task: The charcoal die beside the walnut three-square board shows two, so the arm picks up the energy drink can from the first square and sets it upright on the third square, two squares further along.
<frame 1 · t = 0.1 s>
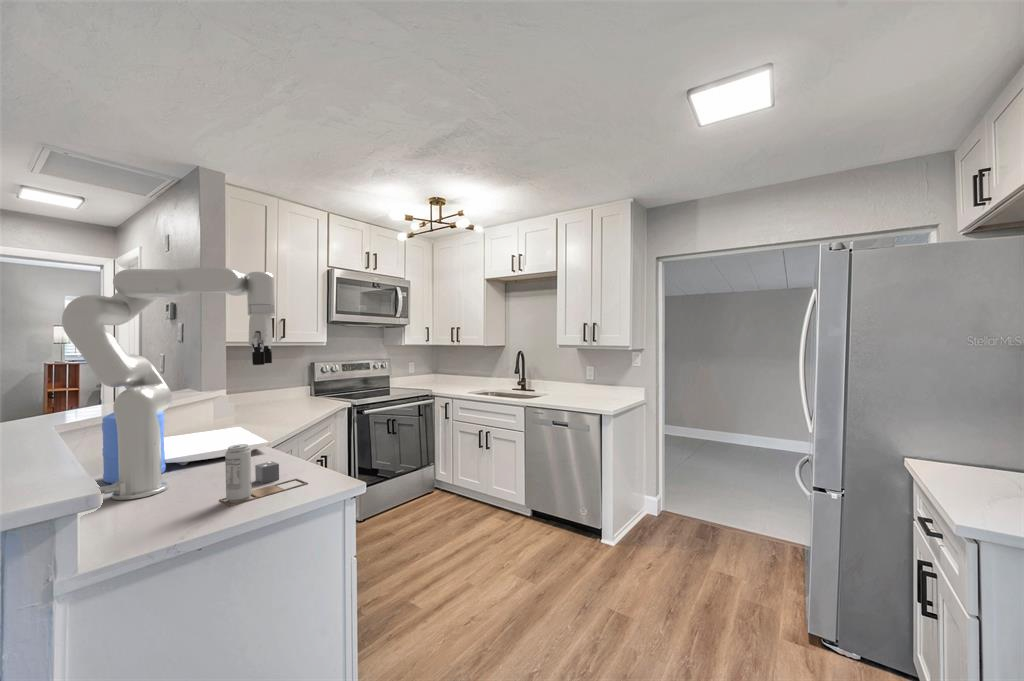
hand: (262, 364, 135), 37 cm above the worktop, tool pointing down, fingers open, 9 cm apart
water jug: (135, 477, 141), on the worktop
board 2: (208, 452, 173), on the worktop
board: (265, 491, 124), on the worktop
energy drink can: (239, 500, 119), on the worktop
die: (267, 480, 135), on the worktop
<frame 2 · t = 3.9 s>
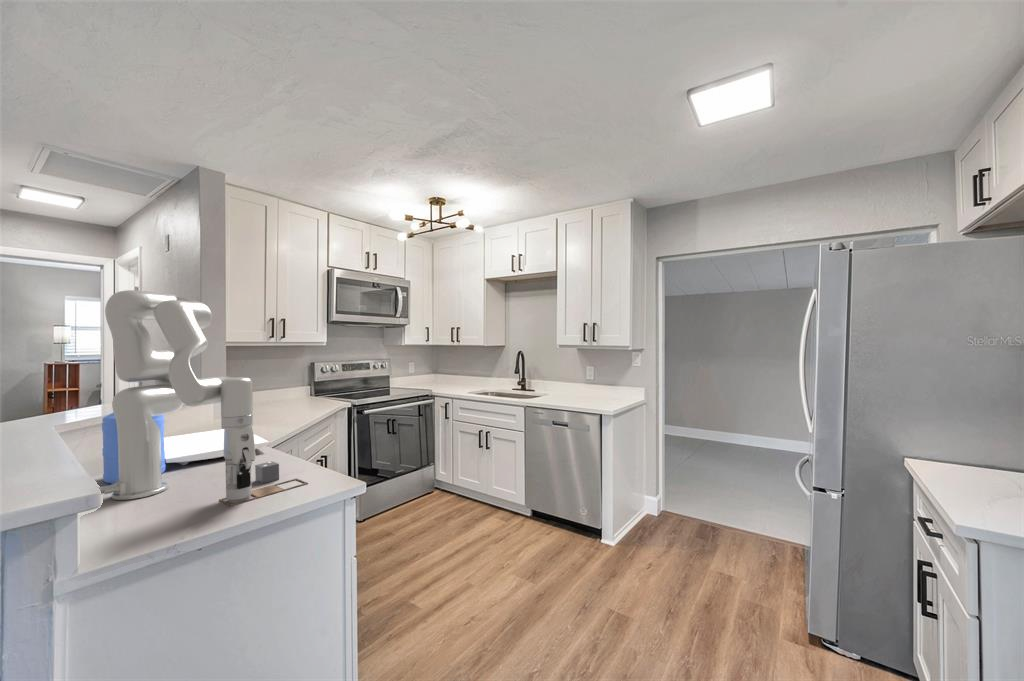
hand: (238, 484, 119), 4 cm above the worktop, tool pointing down, fingers closed on energy drink can, 6 cm apart
energy drink can: (239, 500, 119), on the worktop, touching gripper
everything else where it was.
when the fingers open (5 cm above the worktop, at t = 10.4 s): energy drink can drops 1 cm, on the worktop.
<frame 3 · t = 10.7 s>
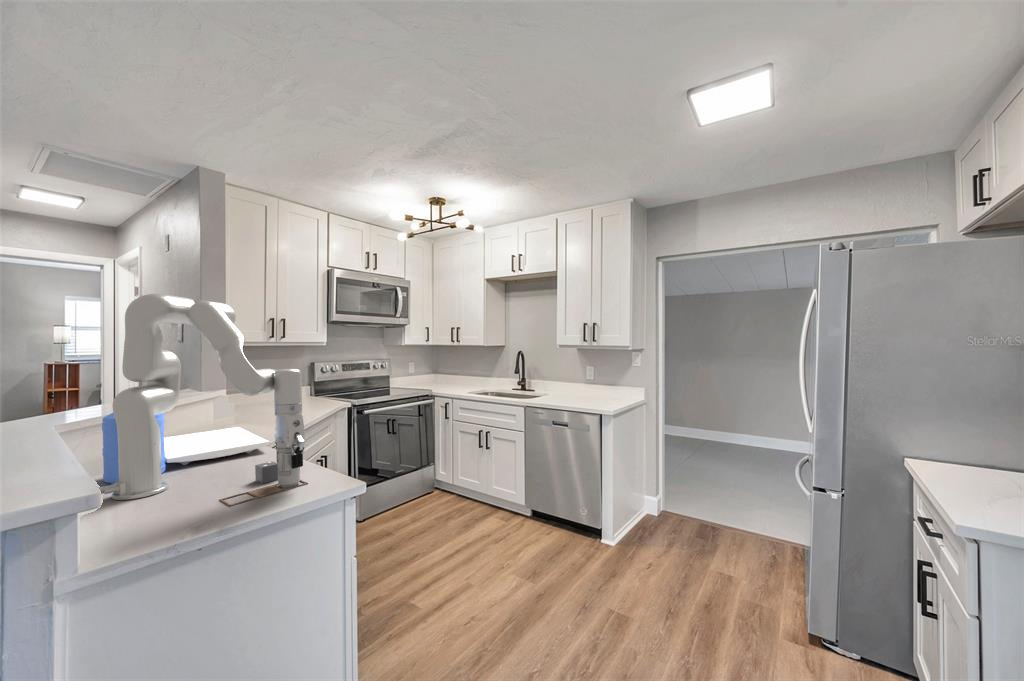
hand: (289, 464, 130), 6 cm above the worktop, tool pointing down, fingers open, 9 cm apart
energy drink can: (289, 485, 130), on the worktop
everything else where it was.
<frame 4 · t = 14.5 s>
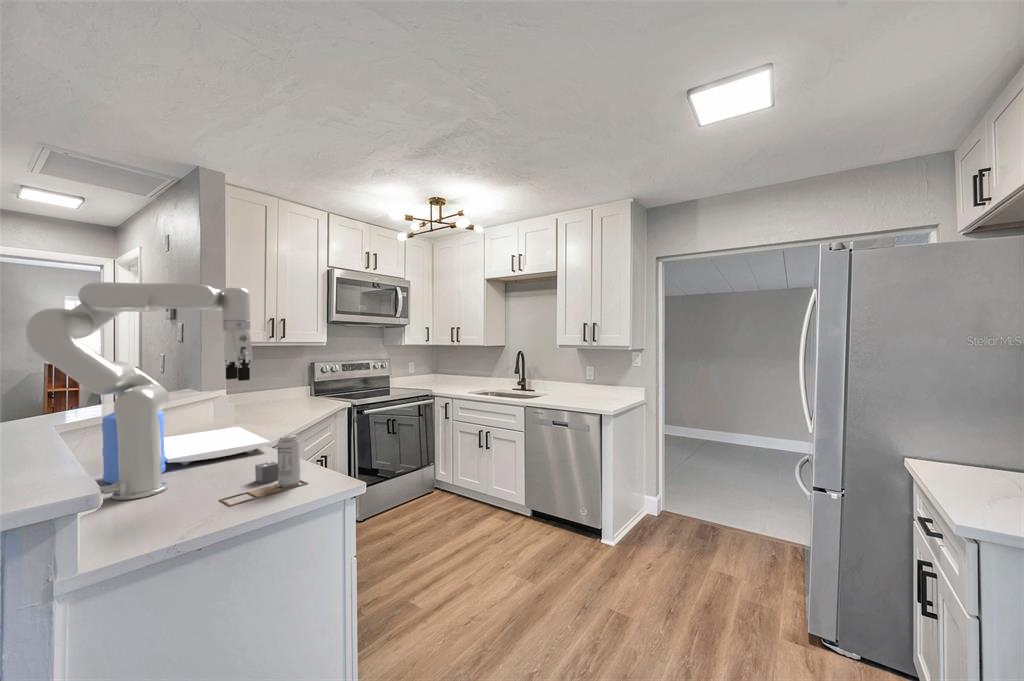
hand: (237, 379, 135), 32 cm above the worktop, tool pointing down, fingers open, 9 cm apart
nothing on the worktop moved.
at the end: energy drink can 0.2 cm from the target spot, on the worktop; energy drink can tilted 0°; the gripper is holding nothing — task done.
